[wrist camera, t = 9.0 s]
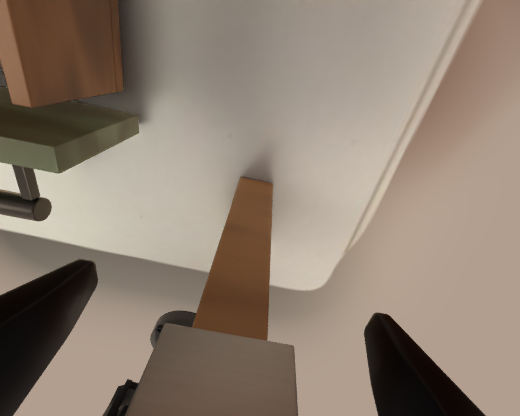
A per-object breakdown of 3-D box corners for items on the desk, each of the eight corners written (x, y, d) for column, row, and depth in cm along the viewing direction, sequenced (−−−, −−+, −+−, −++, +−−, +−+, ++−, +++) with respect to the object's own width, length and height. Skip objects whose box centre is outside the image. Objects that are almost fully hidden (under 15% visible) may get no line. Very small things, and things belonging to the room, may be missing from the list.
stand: (260, 236, 22) (242, 422, 11) (231, 231, 22) (181, 411, 11) (273, 183, 20) (267, 350, 8) (240, 176, 19) (188, 336, 8)
